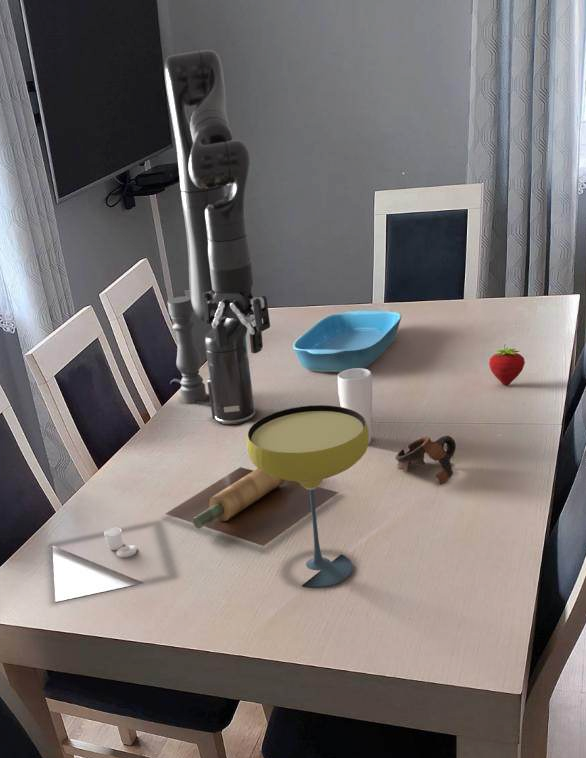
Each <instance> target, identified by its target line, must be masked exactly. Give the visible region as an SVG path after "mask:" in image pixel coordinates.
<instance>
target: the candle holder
mask: <svg viewBox="0 0 586 758" xmlns="http://www.w3.org/2000/svg"><path fill="white" fill-rule="evenodd" d="M167 308H168V314H169V316H170V318H171V320H172V322H173V324H172V330H173V331H175V335H176V340H177V341H176V342H177V349H176V350H177V351H176V361H175V362H176V363H175V365H176V368H177V369H178V371H179V372H180V373H181V376H182V377H181V379H180V380H181V382H180V383H179V384H180V385H181V386H180V388H179V389H180V390H179V391H180V396H181V401H182V403H184V404H188V405H189V404H191V405H192V404H197V403H196V402H195V401H196V400H200V401H203V402H204V401H205V400H206V399H207V397H208V395H207V391H206V384H205V383H204V378H203V377H202V376H201V374H200V369H201V366H202V359H201V356H200V354H199V351H198V348H197V346H196V344H195V341H194V334H193V328H194V327H195V323H194V322H193V321H191V319H192V316H193V312H194V310H193V307H192V303H191V298H190V296H187V295H185V296H184V295H183V296H176V297H173V298H170V299H168V300H167Z"/></svg>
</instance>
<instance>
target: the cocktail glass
mask: <svg viewBox="0 0 586 758" xmlns="http://www.w3.org/2000/svg"><path fill="white" fill-rule="evenodd" d="M368 442H369V432H368V426H367V423H366V421H365V419H364V417H363V416H362V415H360V414H359V413H357V412H355V411H353V410H351V409H347V408H343V407H340V406H337V405H327V404H325V405H323V404H321V405H320V404H319V405H317V404H316V405H315V404H314V405H302V406H297V407H289V408H286V409H283V410H277V411H275V412H274V413H273V412H272V413H270V414H268V415H266V416H263V417H262V418H260V419H259V420H256V422H254V423H253V424H252V425H251V427H250V428H249V429H248V431H247V433H246V450H247V454H248V456H249V460H250V462H251V463H252V464H253V465H254V466H255V467H256V469H257V468H258V469H260V470H261V471H263V472H264V473H266V474H268V475H270V476H273V477H276V478H279V479H283V480H289V481H296V482H299V483H300V484H301V485H302V486H303V487H304V488H306V489H308V490H310V499H311V509H312V511H311V518H312V519H311V520H312V532H313V533H312V534H313V548H314V549H313V558H310V559H309V560H307V562H306V563H305V566H306V568H308V569H309V570H312V571H318V572H317V573H316V574H314V575H313V576H312V577H310V578H309V579H307V581H305V582H304V583H302V584H301V587H305V588H312V589H315V588H316V589H320V588H328V587H331V586H335V585H337V584H338V585H339V584H340V583H342V582H344V581H345V580H346V579H348V578H349V576H350V575H351V574H352V572H353V568H354V567H353V563H352V561H351V559H350V558H349V557H347V556H346V555H345V554H340V555H338V556H337V557H336V558H334V559H333V560H332V561H331V560H330V559H329V558H327V557H323V555H322V551H321V547H320V540H319V539H320V538H319V531H318V530H319V529H318V522H317V511H316V509H315V499H314V489H316V488H317V487H320V485H321V483H322V482H323V481H324V480H325V479H329V478H332V477H334V476H337V475H339V474H341V473H343V472H345V471H347V470H348V469H350V468H351V467H353V466H354V465H356V464H357V463H358V462H359V461H360V460H361V459H362V458H363V456H364V455H365V454H366V452H367V450H368V448H369V447H368V446H369V443H368Z"/></svg>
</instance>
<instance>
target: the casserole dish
mask: <svg viewBox="0 0 586 758" xmlns="http://www.w3.org/2000/svg"><path fill="white" fill-rule="evenodd" d="M401 320H402V314H401V313H400V312H397V311H391V310H390V311H389V310H388V311H387V310H382V309H357V310H353V311H352V310H351V311H342V312H336V313H333V314H329V315H326V316H325V317H323V318H321V319H320V320H319V321H317V322H316V323H315V324H314V325H312V326H311V327H310V328H309V329H307V330H306V331H305V332H304V333H303V334H302V335H300V336H299V337H298V338H297V339H296V340H295V341H294V343H293V344H292V348H293V351H294V352H295V354H296V357H297V359H298V362H299V363H300V365H301V366H302V367H303V368H305V369H306V370H308V371H310V372H321V373H322V372H323V373H324V372H325V373H330V372H332V373H340V372H342V371H344V370H348V369H354V368H362V369H367V368H368V367H369V366H370V365H371V364H372V363H374V362H375V361H376V360H377V359H378V358H379V357H380V356H381V354H383V353H384V352H385V351H386V350H387V349H388V347H390V346H391V344H392V343H393V342H394V340H395V339H396V337H397V334H398V330H399V327H400V323H401Z"/></svg>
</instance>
